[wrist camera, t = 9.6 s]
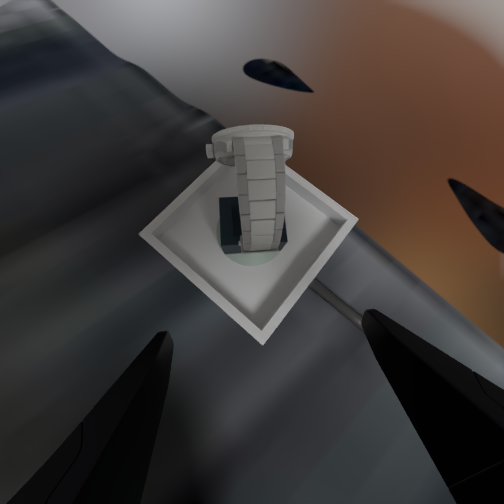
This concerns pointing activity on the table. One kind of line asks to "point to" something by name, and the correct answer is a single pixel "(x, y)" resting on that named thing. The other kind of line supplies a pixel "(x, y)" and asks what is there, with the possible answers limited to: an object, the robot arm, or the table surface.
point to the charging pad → (252, 264)
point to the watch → (254, 187)
